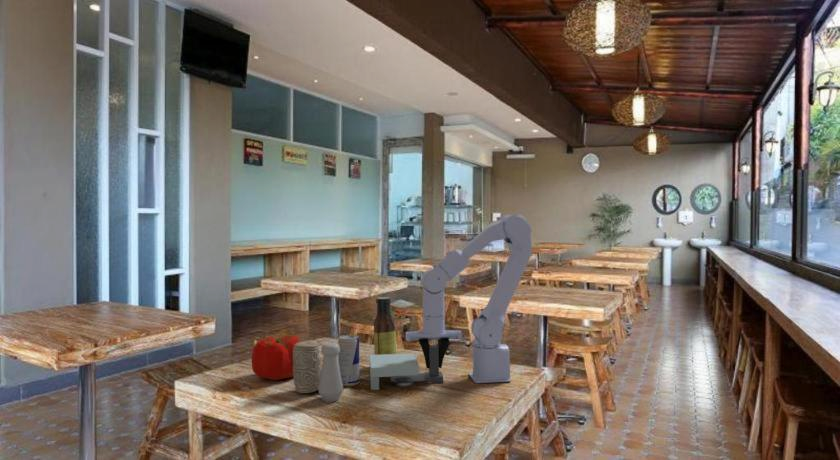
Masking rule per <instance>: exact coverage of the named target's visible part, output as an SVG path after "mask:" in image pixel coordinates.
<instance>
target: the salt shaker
mask: <svg viewBox="0 0 840 460" xmlns="http://www.w3.org/2000/svg"><path fill="white" fill-rule="evenodd" d="M320 350H321V355H323V359H322V364H321V376H320V382H319V387H318V390H317V391H318V394H319V396H320V397H321V400H322V401H323V402H326V403H333V402H337V401H339V400H340V398H341V396H342V393H343V392H344V386H343V384H342V379H341V373H340V368H339V362H338V354H339V353H340V347H339V345H338V343H337V342H327V343H325V344H322V346H321V349H320Z"/></svg>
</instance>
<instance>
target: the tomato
mask: <svg viewBox="0 0 840 460" xmlns="http://www.w3.org/2000/svg"><path fill="white" fill-rule="evenodd" d="M298 342H301V340H300V339H299V338H298V337H297V336H293V335H291V334H290V335H289V334H288V335H284V336H282V337H281V336H280V337H279V336H278V338H277V339H276V338H275V337H273V336H269V337H266V338H264V339H261V340H259V341H257V342H256V344H255V345H254V347H253V348H252V353H251V368H252V372H253V373H254V374H255V376H257V377H258V378H260V379H265V380H267V379H268V380H270V381H281V380H284V379H288V378H289V379H290V378H294V377H293V350H294V349H293V347H295V346H294V345H295V344H296V343H298Z"/></svg>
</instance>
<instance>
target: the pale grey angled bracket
mask: <svg viewBox="0 0 840 460" xmlns="http://www.w3.org/2000/svg"><path fill="white" fill-rule="evenodd" d="M419 372H420V364H419V362H418V360H417V357H416V355H415V353H414V352H413V353H412V352H411V353H396V354H383V355H375V354H369V381H370V390H371V391H378V390H380V378H382V377H391V376H410V375H419Z"/></svg>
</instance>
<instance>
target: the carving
mask: <svg viewBox="0 0 840 460" xmlns="http://www.w3.org/2000/svg"><path fill="white" fill-rule="evenodd" d="M294 346H295V347H293V349H294V350H293V377H292V378H293V382H294V383H293V385H294V387H295V388H294V389H295V391H296V392H297V393H299V394H310V393H314V392H316V391H319V390H318V387H319V382H320V376H321V370H322V364H321V356H320V346H319V343H318V342H317V341H315V340H303V341H300V342H298V343H296V344H295V345H294Z"/></svg>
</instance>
